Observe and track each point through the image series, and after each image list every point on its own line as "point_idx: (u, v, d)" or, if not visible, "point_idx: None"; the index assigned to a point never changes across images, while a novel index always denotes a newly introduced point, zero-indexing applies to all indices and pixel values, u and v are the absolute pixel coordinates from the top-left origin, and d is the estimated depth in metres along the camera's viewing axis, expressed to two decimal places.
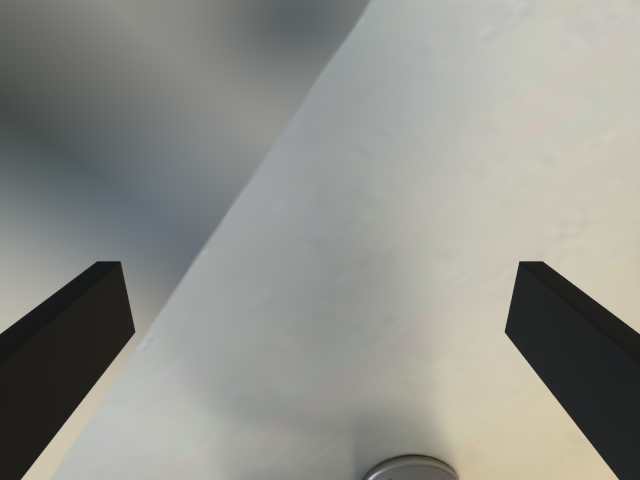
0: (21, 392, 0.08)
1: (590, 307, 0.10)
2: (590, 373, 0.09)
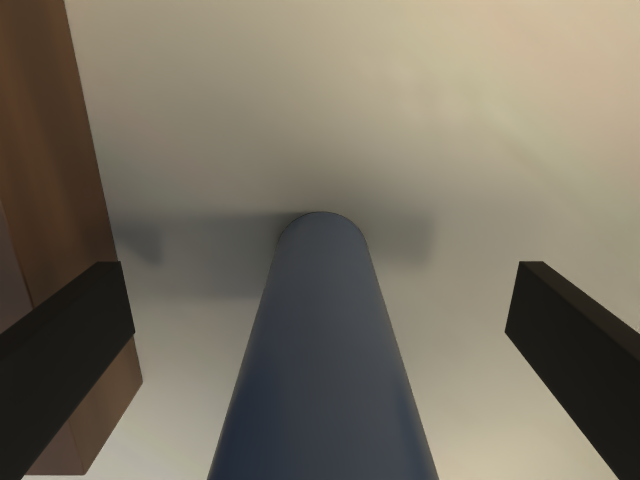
0: (21, 392, 0.08)
1: (590, 307, 0.10)
2: (590, 373, 0.09)
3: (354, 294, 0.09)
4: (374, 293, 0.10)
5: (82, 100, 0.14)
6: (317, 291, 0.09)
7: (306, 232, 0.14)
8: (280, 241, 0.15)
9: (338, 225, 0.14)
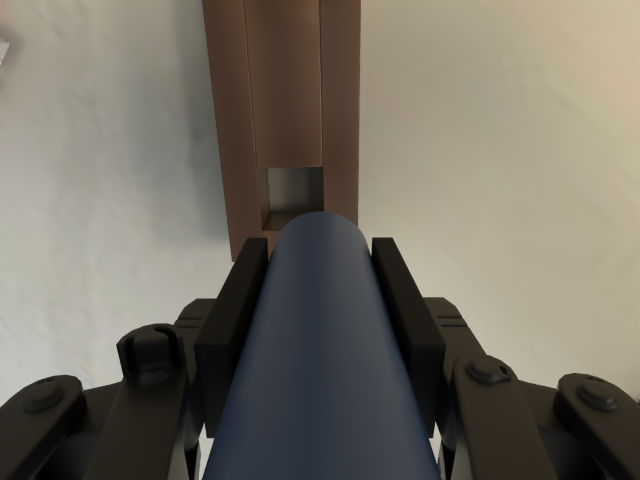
0: (246, 332, 0.10)
1: (397, 270, 0.12)
2: None
3: (356, 303, 0.09)
4: (377, 301, 0.10)
5: None
6: (315, 301, 0.08)
7: (303, 233, 0.13)
8: (276, 242, 0.14)
9: (338, 225, 0.14)
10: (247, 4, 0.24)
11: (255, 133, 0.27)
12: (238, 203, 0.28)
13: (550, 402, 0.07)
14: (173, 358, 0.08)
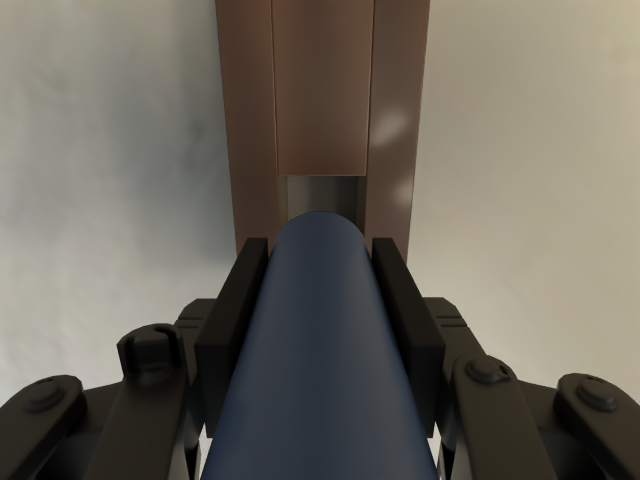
0: None
1: (397, 270, 0.12)
2: None
3: (355, 304, 0.09)
4: (376, 301, 0.10)
5: None
6: (314, 301, 0.08)
7: (302, 233, 0.13)
8: (275, 243, 0.14)
9: (337, 225, 0.14)
10: None
11: (278, 129, 0.20)
12: (251, 222, 0.21)
13: (550, 402, 0.07)
14: (174, 358, 0.08)
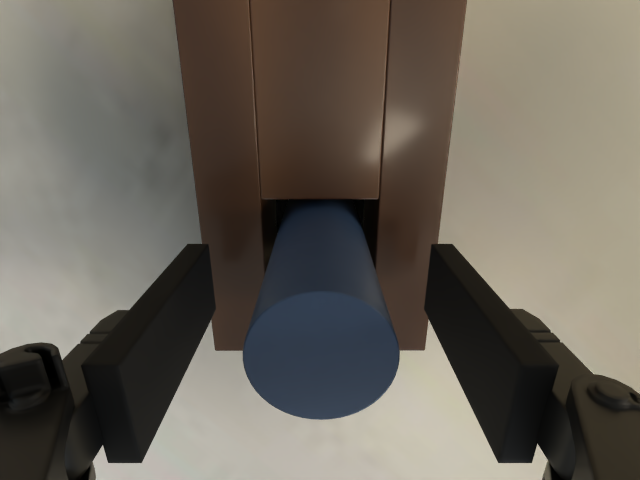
0: (161, 348, 0.10)
1: (472, 279, 0.11)
2: (465, 335, 0.10)
3: (342, 226, 0.14)
4: (357, 229, 0.15)
5: None
6: (317, 223, 0.14)
7: None
8: (288, 203, 0.19)
9: None
10: None
11: (259, 137, 0.14)
12: (226, 259, 0.16)
13: None
14: (52, 379, 0.07)
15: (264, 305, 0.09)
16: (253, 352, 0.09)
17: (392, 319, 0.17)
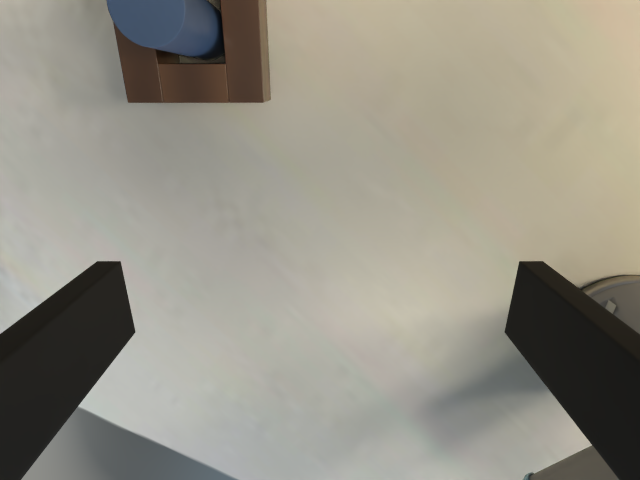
0: (21, 392, 0.08)
1: (590, 307, 0.10)
2: (590, 373, 0.09)
3: None
4: None
5: None
6: None
7: None
8: None
9: None
10: None
11: None
12: None
13: None
14: None
15: None
16: None
17: (239, 76, 0.27)
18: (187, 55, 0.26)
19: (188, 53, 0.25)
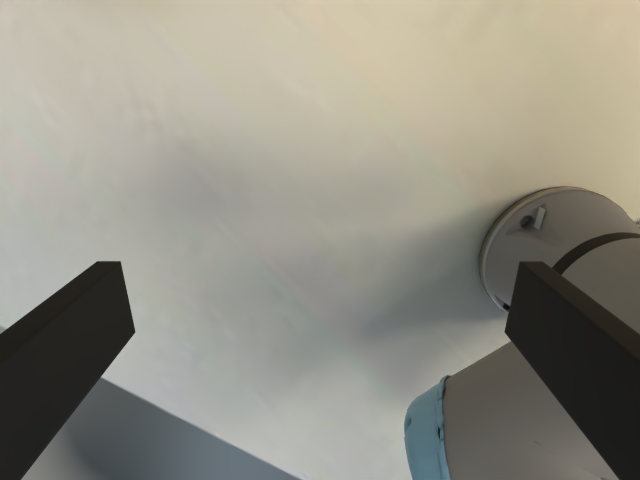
0: (21, 392, 0.08)
1: (590, 307, 0.10)
2: (590, 373, 0.09)
3: None
4: None
5: None
6: None
7: None
8: None
9: None
10: None
11: None
12: None
13: None
14: None
15: None
16: None
17: None
18: None
19: None
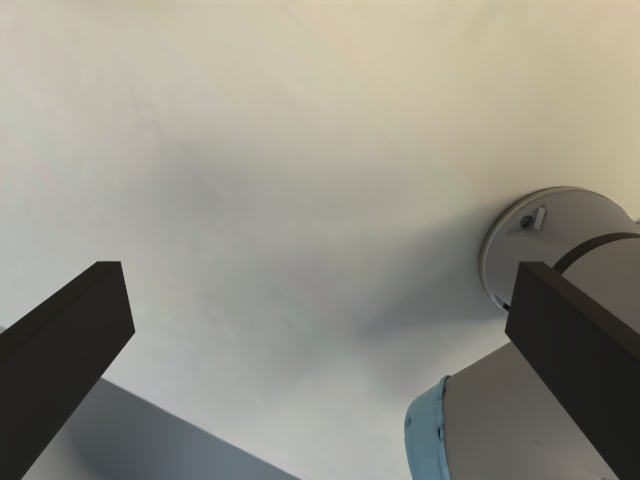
0: (21, 392, 0.08)
1: (590, 307, 0.10)
2: (590, 373, 0.09)
3: None
4: None
5: None
6: None
7: None
8: None
9: None
10: None
11: None
12: None
13: None
14: None
15: None
16: None
17: None
18: None
19: None
